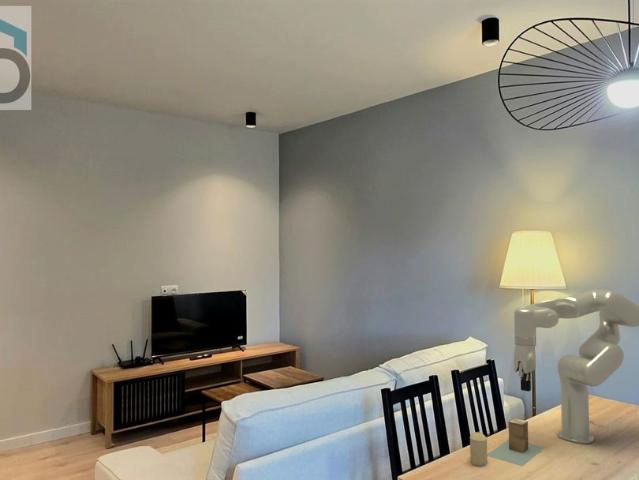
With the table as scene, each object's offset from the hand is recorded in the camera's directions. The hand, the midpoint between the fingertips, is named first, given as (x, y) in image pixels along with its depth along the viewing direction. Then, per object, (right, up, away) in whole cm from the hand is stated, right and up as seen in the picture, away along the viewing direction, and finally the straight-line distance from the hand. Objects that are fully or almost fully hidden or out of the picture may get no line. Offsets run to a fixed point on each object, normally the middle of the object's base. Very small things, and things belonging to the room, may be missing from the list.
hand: (525, 390), depth 184 cm
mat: (-7, -20, -8) cm, 23 cm away
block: (-5, -20, -6) cm, 21 cm away
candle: (-23, -20, -16) cm, 34 cm away
